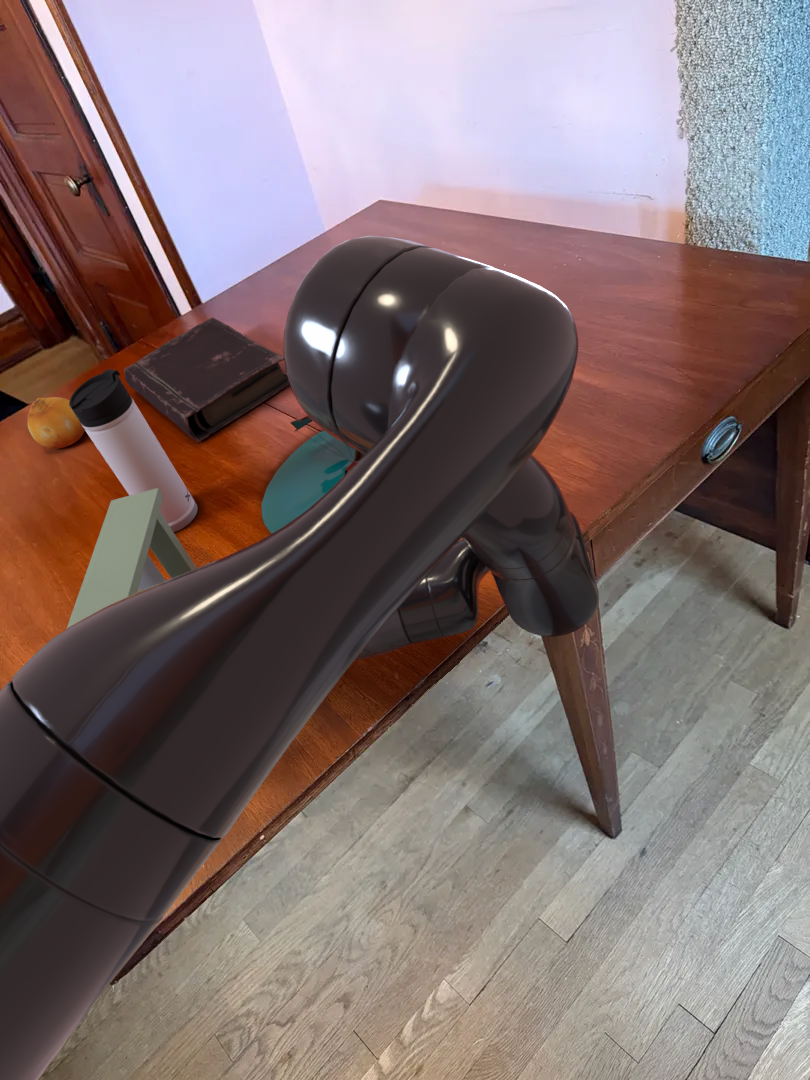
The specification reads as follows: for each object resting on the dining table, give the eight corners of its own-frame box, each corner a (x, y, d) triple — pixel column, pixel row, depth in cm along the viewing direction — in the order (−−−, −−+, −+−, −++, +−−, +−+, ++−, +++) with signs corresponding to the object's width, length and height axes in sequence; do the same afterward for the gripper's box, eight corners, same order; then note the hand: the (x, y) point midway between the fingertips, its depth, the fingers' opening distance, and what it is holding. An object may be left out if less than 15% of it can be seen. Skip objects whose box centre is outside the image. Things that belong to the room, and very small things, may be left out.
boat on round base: (492, 393, 96) (469, 314, 90) (475, 537, 76) (443, 448, 69) (299, 435, 105) (265, 366, 99) (237, 573, 85) (188, 498, 78)
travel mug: (209, 504, 95) (130, 370, 82) (175, 539, 92) (86, 405, 78) (177, 495, 98) (96, 366, 85) (142, 529, 95) (53, 399, 82)
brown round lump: (27, 455, 113) (26, 405, 109) (28, 435, 119) (27, 387, 116) (86, 457, 116) (87, 408, 113) (84, 438, 123) (84, 391, 119)
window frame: (240, 604, 80) (166, 485, 69) (216, 796, 64) (113, 682, 52) (185, 617, 81) (103, 502, 70) (147, 811, 64) (31, 701, 53)
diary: (195, 446, 106) (179, 418, 103) (134, 395, 123) (118, 369, 120) (300, 380, 112) (288, 351, 109) (228, 340, 129) (216, 314, 126)
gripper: (336, 530, 65) (151, 577, 67) (336, 649, 55) (120, 699, 57) (362, 587, 70) (189, 629, 72) (366, 706, 60) (167, 750, 62)
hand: (159, 660), depth 64 cm, fingers closed
